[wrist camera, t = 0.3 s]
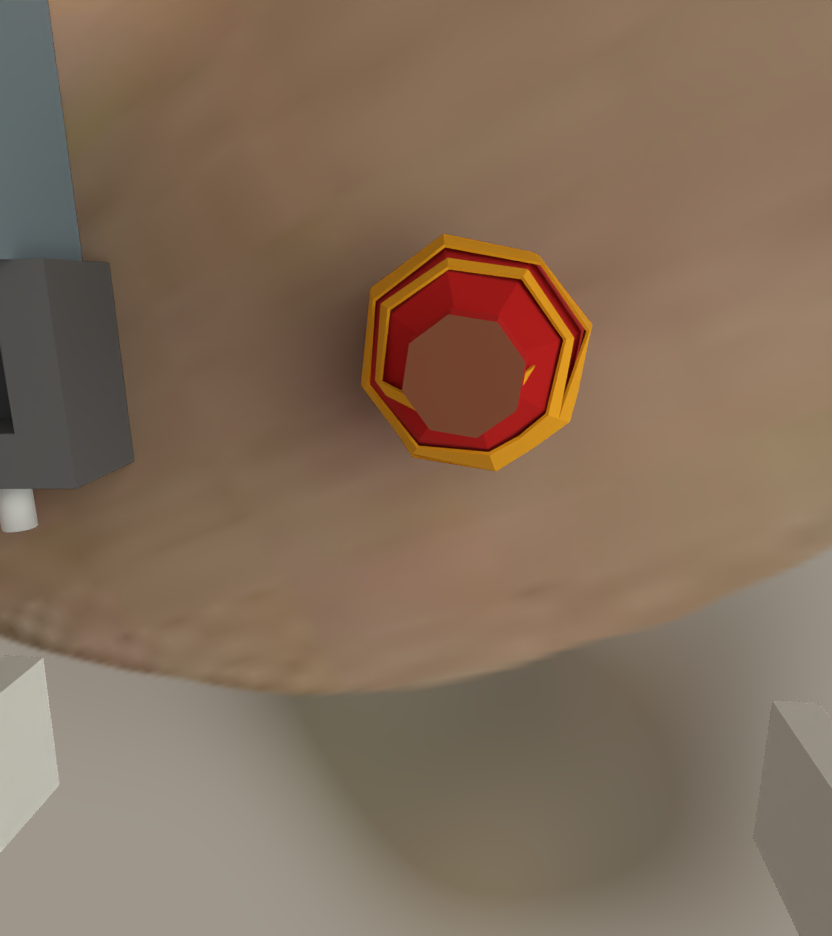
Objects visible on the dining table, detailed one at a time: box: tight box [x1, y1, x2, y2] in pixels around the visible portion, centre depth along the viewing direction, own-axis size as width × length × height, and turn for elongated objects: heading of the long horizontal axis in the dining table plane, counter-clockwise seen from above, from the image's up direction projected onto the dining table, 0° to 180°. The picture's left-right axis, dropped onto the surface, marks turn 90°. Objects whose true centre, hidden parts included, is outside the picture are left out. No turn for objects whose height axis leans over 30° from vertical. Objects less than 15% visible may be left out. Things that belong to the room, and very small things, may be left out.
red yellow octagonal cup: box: [361, 234, 592, 471], centre depth 31 cm, size 10×10×15 cm
